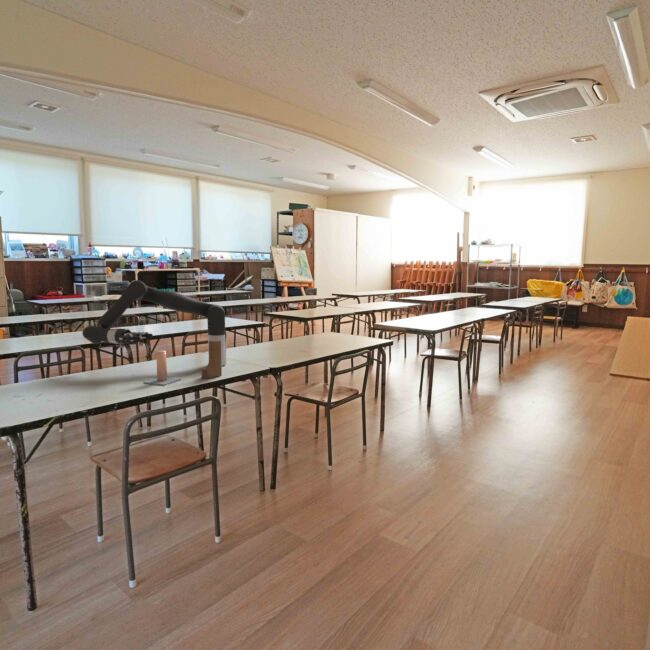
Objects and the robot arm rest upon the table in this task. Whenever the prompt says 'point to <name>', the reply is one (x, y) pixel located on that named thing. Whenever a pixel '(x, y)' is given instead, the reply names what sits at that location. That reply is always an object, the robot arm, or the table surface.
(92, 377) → the table surface
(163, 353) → the tan tall cylinder
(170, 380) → the rubber mat
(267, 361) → the table surface
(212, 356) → the brown boot
